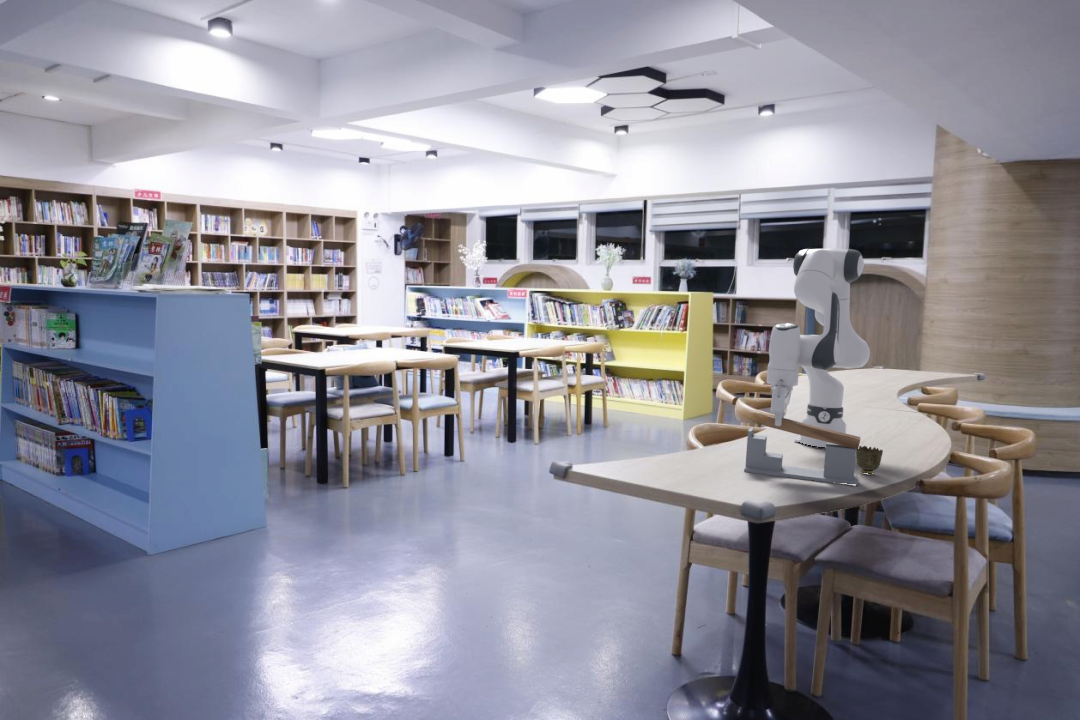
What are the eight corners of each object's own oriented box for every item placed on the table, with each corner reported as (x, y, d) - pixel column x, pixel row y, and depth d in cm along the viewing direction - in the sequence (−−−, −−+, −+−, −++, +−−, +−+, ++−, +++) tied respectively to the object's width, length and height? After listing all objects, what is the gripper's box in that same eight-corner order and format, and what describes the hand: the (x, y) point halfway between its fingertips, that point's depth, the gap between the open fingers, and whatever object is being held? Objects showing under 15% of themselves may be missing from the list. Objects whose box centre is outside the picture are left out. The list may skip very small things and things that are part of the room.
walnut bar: (763, 422, 224) (783, 391, 221) (841, 469, 216) (863, 438, 213) (762, 424, 220) (782, 393, 217) (841, 472, 213) (863, 441, 210)
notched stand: (748, 464, 230) (751, 426, 228) (856, 478, 218) (860, 438, 217) (744, 471, 220) (747, 432, 219) (856, 486, 209) (860, 444, 207)
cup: (872, 478, 218) (874, 452, 217) (848, 473, 224) (851, 447, 223) (885, 475, 222) (887, 449, 222) (862, 470, 228) (864, 444, 227)
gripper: (791, 383, 208) (787, 431, 210) (795, 375, 227) (792, 419, 228) (767, 381, 210) (764, 428, 212) (774, 373, 229) (771, 417, 231)
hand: (778, 424), depth 220 cm, fingers closed on walnut bar, 4 cm apart
